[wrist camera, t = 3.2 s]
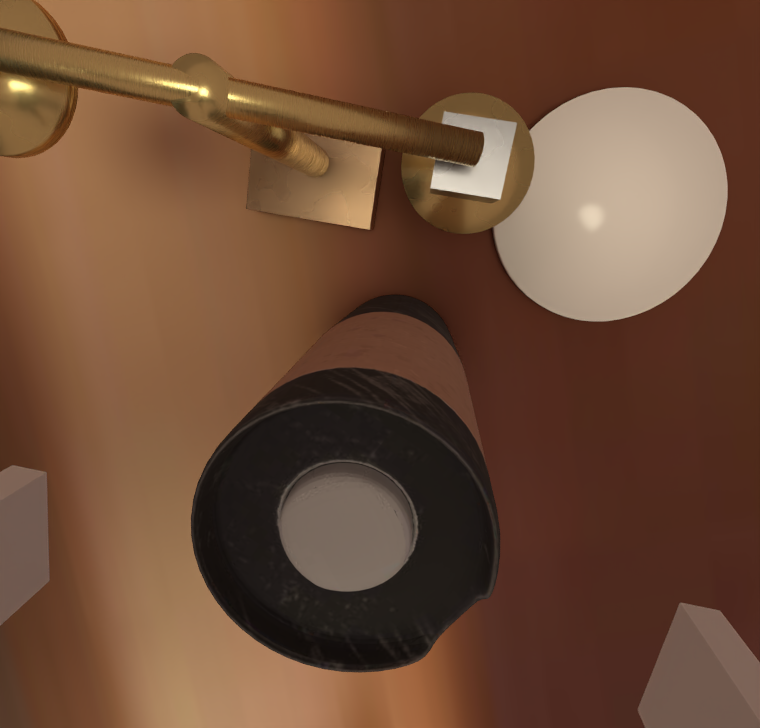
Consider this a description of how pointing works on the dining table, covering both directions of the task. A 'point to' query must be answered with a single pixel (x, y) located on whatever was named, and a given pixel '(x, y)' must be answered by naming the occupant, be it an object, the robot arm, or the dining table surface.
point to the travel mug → (354, 498)
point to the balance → (278, 130)
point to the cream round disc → (615, 205)
